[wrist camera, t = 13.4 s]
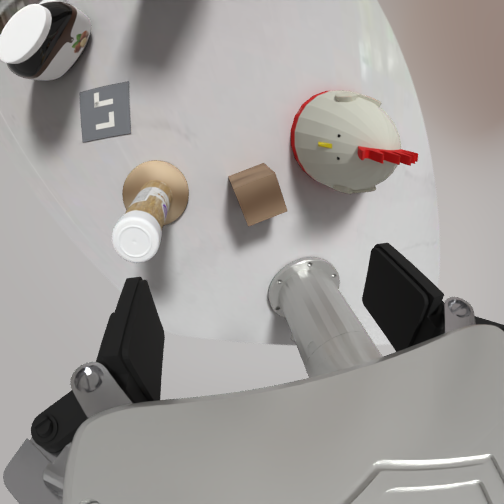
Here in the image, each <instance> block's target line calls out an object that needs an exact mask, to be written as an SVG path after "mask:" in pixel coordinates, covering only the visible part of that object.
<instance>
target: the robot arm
mask: <svg viewBox="0 0 504 504" xmlns="http://www.w3.org/2000/svg"><path fill="white" fill-rule="evenodd" d="M339 284H340V280H339V275H338V272H337V271H336V269H335V268H334V266H333V265H332V264H331V263H329V262H328V261H326V260H324V259H321V258H316V257H307V258H302V259H299V260H296V261H294V262H292V263H290V264H288V265H286V266H285V267H284V268H283V269H281V270H280V271H279V272H278V273H277V275H276V276H275V277H274V279H273V280H272V282H271V285H270V287H269V293H268V295H269V301H270V305H271V307H272V309H273V310H274V311H275V312H276V313H277V314H278V315H279V316H281V317H284V318H286V319H287V322H288V325H289V327H290V330H291V332H292V335H291V339H292V340H293V341H294V342H296V345H297V347H298V350H299V352H300V355H301V358H302V360H303V362H304V365H305V368H306V371H307V373H308V376H309V378H307V379H303V380H298V381H294V382H289V383H284V384H280V385H275V386H269V387H264V388H259V389H253V390H247V391H240V392H233V393H226V394H218V395H210V396H202V397H193V398H182V399H169V400H160V391H161V375H162V360H163V348H164V338H165V337H164V330H163V327H162V324H161V322H160V319H159V316H158V313H157V310H156V307H155V304H154V301H153V298H152V295H151V292H150V289H149V286H148V283H147V281H146V280H142V278H141V277H134V278H127V279H126V282H125V284H124V287H123V290H122V293H121V295H120V298H119V301H118V304H117V307H116V310H115V313H112V314H111V316H110V318H109V321H108V324H107V327H106V330H105V334H104V337H103V340H102V343H101V347H100V350H99V353H98V357H97V360H96V362H89V363H85V364H83V365H81V366H80V367H79V368H77V369H76V371H75V372H74V373H73V375H72V377H71V388H72V391H70V392H69V393H68V394H66V395H65V396H64V397H62V398H61V399H60V400H58V401H57V402H55V403H54V404H53V405H51V406H50V407H49V408H47V409H46V410H45V411H44V412H42V413H41V414H39V415H38V416H37V417H36V418H35V420H34V421H33V423H32V427H31V435H32V438H31V440H29V439H26V440H25V442H24V443H23V444H22V446H21V447H20V448H19V450H18V451H17V453H16V454H15V455H14V457H13V458H12V460H11V461H10V462H9V464H8V466H7V467H6V468H5V471H4V476H3V479H4V483H5V485H6V487H7V489H8V490H9V491H10V493H11V494H12V495H13V496H14V498H15V499H16V500H17V501H18V502H19V504H504V325H502V324H498V323H495V322H492V321H489V320H485V319H482V318H479V317H475V316H474V311H473V308H472V306H471V305H470V304H469V303H468V302H467V301H465V300H463V299H461V298H458V297H450V298H448V299H447V300H446V301H445V303H444V302H443V301H442V299H443V296H444V294H443V293H442V292H441V291H440V290H439V289H438V288H437V287H436V286H435V285H434V284H433V283H432V282H431V281H430V280H429V279H428V278H427V277H426V276H425V275H424V274H423V273H421V272H420V271H419V270H418V269H417V268H416V267H415V266H414V265H413V264H412V263H411V262H409V261H408V260H407V259H406V258H405V257H404V256H403V255H402V254H400V253H399V252H398V251H397V250H396V249H395V248H394V247H392V246H391V245H390V244H389V243H382V244H376V245H375V246H374V248H373V249H372V250H371V255H370V261H369V266H368V272H367V277H366V282H365V287H364V292H363V297H362V301H363V304H364V306H365V307H366V309H367V310H368V312H369V313H370V314H371V316H372V317H373V319H374V320H375V321H376V323H377V324H378V326H379V327H380V328H381V330H382V331H383V333H384V334H385V336H386V337H387V339H388V340H389V341H390V343H391V344H392V346H393V347H394V349H395V350H396V352H395V353H393V354H389V355H387V356H384V357H383V356H382V355H381V353H380V352H379V350H378V349H377V347H376V346H375V344H374V343H373V341H372V339H371V338H370V336H369V335H368V333H367V332H366V330H365V329H364V327H363V325H362V324H361V322H360V321H359V319H358V318H357V316H356V315H355V313H354V312H353V310H352V309H351V307H350V306H349V304H348V303H347V301H346V300H345V298H344V297H343V295H342V294H341V292H340V291H339V290H338V289H339Z"/></svg>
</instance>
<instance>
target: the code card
mask: <svg viewBox="0 0 504 504" xmlns="http://www.w3.org/2000/svg"><path fill="white" fill-rule="evenodd" d="M80 113H81V128H82V139H83V142H87V141H91V140H96V139H101V138H106V137H112V136H117V135H123V134H130V133H131V125H130V105H129V81H127V82H122V83H117V84H112V85H108V86H103V87H99V88H95V89H91V90H87V91H83V92H80Z"/></svg>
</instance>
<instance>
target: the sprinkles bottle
mask: <svg viewBox="0 0 504 504" xmlns="http://www.w3.org/2000/svg"><path fill="white" fill-rule="evenodd" d="M172 198H173V195H172V191H171V189H170V187H169V186H168V185H167V184H166V183H164V182H162V181H158V180H152V181H149V182H147V183H146V184H145V185H144V186H143V187H142V188H141V191H140V192H139V193H138V195H137V196H136V197H135V199H134V200H133V202H132V203H131V205H130V206H129V208H128V209H127V211H126V213H125V214H124V215H123V216H122V217H121V218H120V219H119V220H118V222H117V224H116V225H115V227H114V229H113V232H112V244H113V247H114V249H115V251H116V252H117V253H118V254H119V255H120V256H121V257H122V258H123V259H125V260H127V261H130V262H133V263H141V262H145V261H148V260H150V259H151V258H152V257H153V256H154V255H155V254H156V253H157V251H158V249H159V246H160V242H161V238H162V228H163V224H164V223H165V220H166V217H167V214H168V211H169V207H170V205H171V203H172Z"/></svg>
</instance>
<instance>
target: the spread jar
mask: <svg viewBox="0 0 504 504" xmlns="http://www.w3.org/2000/svg"><path fill="white" fill-rule="evenodd" d="M67 2H68V0H43V1H42V2H41V3H40V4H32V5H28V6H26V7H24V8H22V9H21V10H19V11H18V12H17V13H16V14H15V15H14V16H13V17H12V18H11V19H10V20H9V21H8V23H7V24H6V26H5V27H4V29H3V31H2V33H1V35H0V59H1V61H3V62H4V63H7V66H8V68H9V69H10V70H11V71H12V72H13V73H14V74H16V75H18V76H20V77H23V78H26V79H32V80H43V81H48V80H54V79H57V78H59V77H61V76H62V75H63V74H65V73H66V72H67V71H68V70H69V69H70V68H71V67H72V66H73V65H74V64H75V63H76V62H77V61H78V59H79V58H80V57H81V55H82V54H83V52H84V50H85V48H86V46H87V43H88V40H89V37H90V34H91V26H92V25H91V21H90V19H89V17H88V16H87V15H86V14H85V13H83V12H82V11H80V10H79V9H78V8H76V7H74V6H72V5H70V4H67Z"/></svg>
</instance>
